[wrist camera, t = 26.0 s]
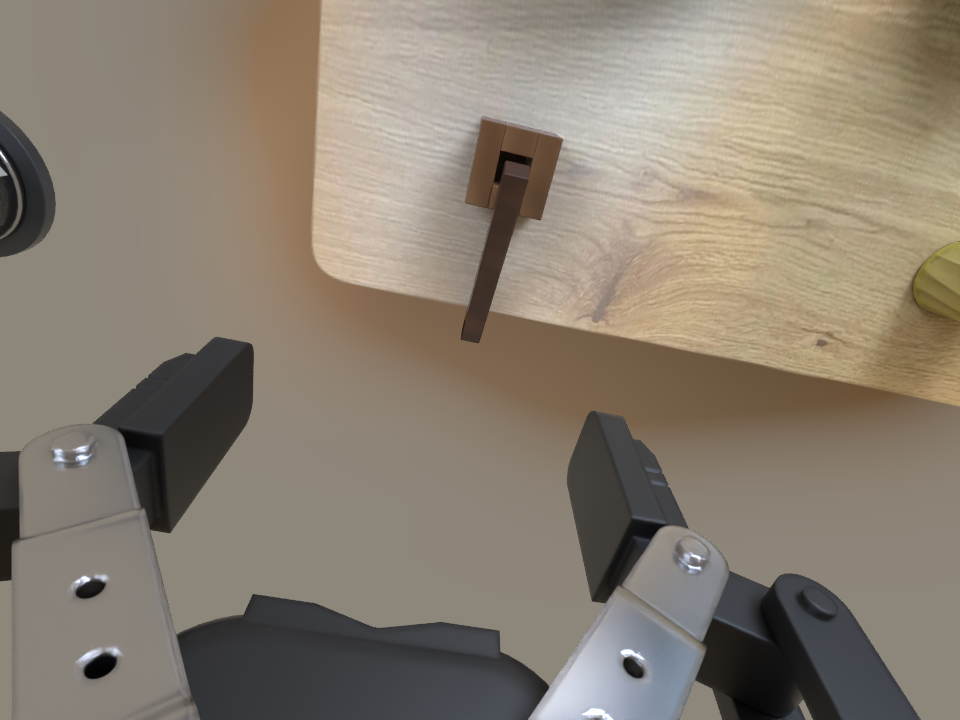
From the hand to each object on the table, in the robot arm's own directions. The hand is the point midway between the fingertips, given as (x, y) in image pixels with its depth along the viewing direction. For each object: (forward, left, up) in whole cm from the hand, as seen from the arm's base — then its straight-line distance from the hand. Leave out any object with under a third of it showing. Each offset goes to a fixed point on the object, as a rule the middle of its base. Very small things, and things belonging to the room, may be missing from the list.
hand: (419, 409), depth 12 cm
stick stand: (+3, +3, -30) cm, 30 cm away
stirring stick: (+3, +3, -24) cm, 24 cm away
